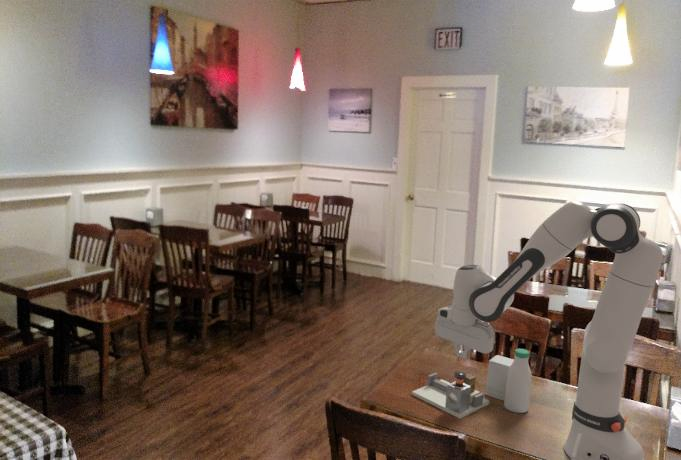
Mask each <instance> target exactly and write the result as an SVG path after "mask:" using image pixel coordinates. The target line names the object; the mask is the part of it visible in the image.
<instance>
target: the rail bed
mask: <svg viewBox="0 0 681 460" xmlns="http://www.w3.org/2000/svg"><path fill="white" fill-rule="evenodd" d="M438 376H439V375H438V372H434V373H431V374H428V376H427V384H426V385H425V386H422V387H420V388H417V389H414V390H413V391H411V392H412V393H411V395H412V396H414V397H416V398H418V399H419V400H422V401H424V402H425V403H428V404H429V405H432V406H433V407H436V408H438V409H439V410H442V411H444V412H445V413H448V414H449V415H451V416H454V417H456V418H457V419H460V420H461V419H463V418H465V417H466V416H469V415H471V414H472V413H474V412H476V411H478V410H480V409H482V408H484V407H487V406H488V405H489V404H490V400H489V399H487V398H485V397H484V393H482V392H480V394H478V395H475V396H474V398H473V403H472V405H469V409H468V410H466V411H464V412H462V413H460V414H458V413H456V412H454V411H452V410H450V409H448V408H446V407H445V405H446V393H447V385H448V384H450V383H451V382H449V381H447V380H445V379H442V378H441V379H438Z"/></svg>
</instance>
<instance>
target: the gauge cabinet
mask: <svg viewBox="0 0 681 460" xmlns="http://www.w3.org/2000/svg"><path fill="white" fill-rule="evenodd" d="M449 383H450V384H448V385H447V393H446V405H445V407H446V408H448V409H450V410H452V411H454V412H456V413H458V414H460V413H462V412H464V411H466V410H468V409H469V405H470V394H471V386H469V385H467V384H465V383H463V388H461V389H459V388H457V387H455V384H456V380H455V381H453V382H449Z"/></svg>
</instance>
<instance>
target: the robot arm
mask: <svg viewBox="0 0 681 460" xmlns="http://www.w3.org/2000/svg"><path fill="white" fill-rule="evenodd" d="M640 226H641V217H640V215H639V213H638V211H636V209H635V208H634V207H632V206H631V205H628V204H625V203H617V202H616V203H610V204H607V205H603V206H601V207H597V208H594V209H592V208H591V207H589V206H588V205H587V204H585V203H584V202H580V201H575V200H573V201H569V202H567V203H565V204H563V206H561V207H559V208H557V210H555V211H554V212H553V213H552V214H551V215H549V217H547V218H546V219H545V220H544V221H543V222H542V223H541V224H540V225H539V226H538V227H537V229H536V230H535V231H534V232H533V233H532V235H531V236H530V237H529V239H528V240H527V242H526V243H525V245H524V247H523V248H522V249H521V251H520V253H519V254H518V256H516V258H515V260H513V262H512V263H511V264H510V265H509V266H508V267H507V268H505V270H504V271H503V272H501V274H500V275H499V276H497V277H496V276H495V275H492V274H491V273H489V272H488V271H486V270H485V269H484V267H483V266H481V265H478V264H467V265H466V264H465V265H463V266H461V267H459V268H458V269H457V270H456V272H455V276H454V281H453V288H452V294H453V300H452V303H451V305H449V306H445V307H441V308H438V310H437V317H436V319H435V322H434V323H435V325H434V333H435V334H436V336H437V337H440V338H442V339H445V340H448V341H450V342H453V346H454V349H455V351H456V354H455V355H456V357H458V358H461V359H463V360H466V359H467V358H468V353H469V352H470V351H471V350H473V351H476V352H477V353H478V352H479V353H481V354H484V355H486V354H489V353H491V352H492V351H493V350H494V332H495V330H494V328H493V326H492V325H491V324H490V322H491V323H492V322H494V321H496V320H498V319H499V318H500V317H501V316H502V314H503V313H504V312H505V311H506V310H507V309H508V308H509V307H510V306H511V305H512V304H513V302H514V299H515V293H517V291H518V290H520V289H521V288H522V287H523V286H524V285H525V284H526V283H527V282H528V281H529V280H530V279H532V278H533V277H535V276H536V275H537V274H539V273H542V272H543V271H544V270H546V269H548V268H550V267H552V266H553V265H555V264H557V263H558V262H561V260H563V259H564V258H565V257H567V256H568V255H569V254H571V252H572V251H574V250H575V249H576V248H577V247H578V246H579V245H580V244H581V243H582V242H584V241H585V240H586V239H588V238H591V237H592V238H594V240H595V241H596V242H598V243H599V244H600V245H602V246H603V247H605V248H607V249H609V250H610V251H611V252H613V253H614V254H615V255H614V259H613V262H612V264H611V267H610V269H609V273H608V275H607V277H606V280H605V282H604V285H603V288H602V289H601V292H600V295H599V297H598V301H597V304H596V308H595V311H594V313H593V316H592V319H591V321H590V322H589V323H588V324H587V325H586V327H585V329H584V335H583V336H584V337H583V341H582V350H581V351H582V352H581V357H580V358H581V360H580V367H579V373H578V381H577V389H576V390H577V391H576V395H575V396H576V399H575V401H574V402H573V407H572V413H571V414H572V415H571V420H572V421H571V426H570V430H569V433H568V436H567V439H566V440H565V442H564V444H563V449H564V450H563V451H564V452H565V453H566V454H567V456H568V457H569V458H570V460H645V455H644V449H643V447H642V445H641V444H640V443H639V442H638V441H637V440H636V439H635V438H634V437H633V435H631V433H630V432H629V431H628V430H627V429H626V428H625V425H626V423H627V420H628V417H627V416H625V417H623V416H622V415H621V413H620V405H621V399H622V398H621V397H622V391H623V385H624V384H623V383H624V382H623V381H624V371H625V365H626V363H627V361H628V358H629V355H630V352H631V350H632V347H633V344H634V342H635V339H636V335H637V333H638V330H639V329H638V328H639V326H640V324H641V320H642V317H643V314H644V311H645V309H646V307H647V304H648V302H649V299H650V297H651V294H652V292H653V289H654V287H655V285H656V282H657V280H658V276H659V274H660V268H661V265H662V261H663V250H662V248H661V246H660V245H659V244H657V243H656V242H655V241H653V240H651V239H650V238H649V239H648V238H645V237H644V236H642V234H641V232H640ZM461 346H463V349H462V347H461Z"/></svg>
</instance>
